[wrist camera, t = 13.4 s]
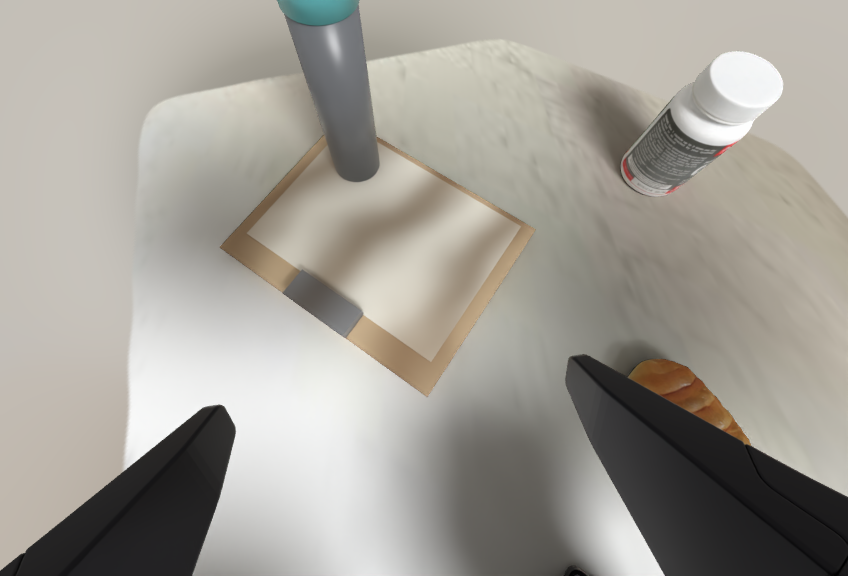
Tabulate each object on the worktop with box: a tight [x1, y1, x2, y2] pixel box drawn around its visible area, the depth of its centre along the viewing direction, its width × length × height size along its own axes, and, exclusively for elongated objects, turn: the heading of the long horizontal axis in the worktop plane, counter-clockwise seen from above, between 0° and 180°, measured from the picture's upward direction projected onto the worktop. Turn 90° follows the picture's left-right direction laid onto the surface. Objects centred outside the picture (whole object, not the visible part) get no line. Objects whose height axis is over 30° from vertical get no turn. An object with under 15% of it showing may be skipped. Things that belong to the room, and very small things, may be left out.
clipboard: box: [220, 135, 536, 397], centre depth 24 cm, size 18×14×2 cm
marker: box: [277, 0, 380, 182], centre depth 19 cm, size 4×4×14 cm
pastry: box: [628, 359, 751, 446], centre depth 19 cm, size 9×7×4 cm
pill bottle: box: [621, 51, 783, 197], centre depth 22 cm, size 5×5×8 cm
